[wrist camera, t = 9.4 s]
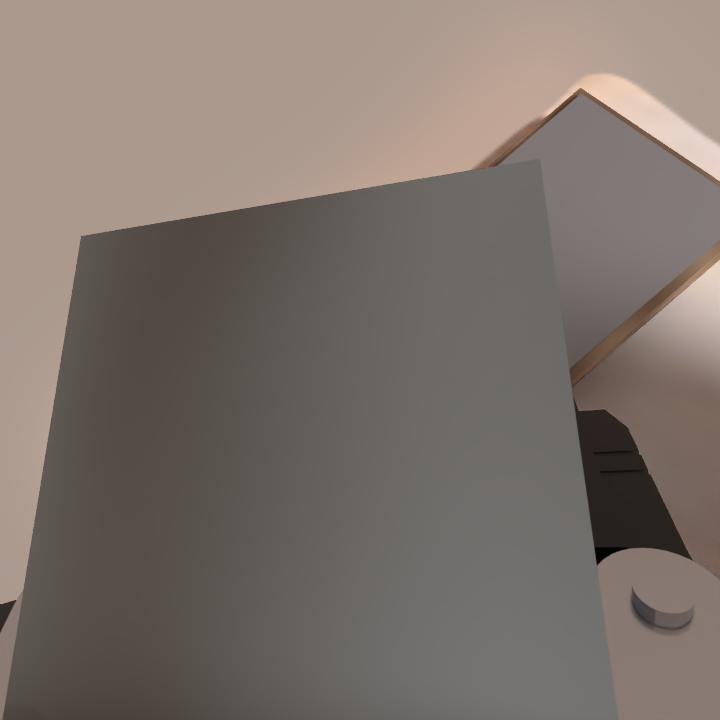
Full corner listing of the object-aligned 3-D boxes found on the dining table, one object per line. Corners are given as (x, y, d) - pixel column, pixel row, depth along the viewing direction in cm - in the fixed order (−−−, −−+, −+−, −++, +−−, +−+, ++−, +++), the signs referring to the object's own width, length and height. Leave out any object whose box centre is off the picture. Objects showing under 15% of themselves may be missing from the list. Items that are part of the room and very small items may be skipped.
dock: (571, 128, 36) (581, 84, 32) (735, 246, 31) (768, 209, 27) (407, 269, 36) (398, 241, 32) (546, 408, 31) (554, 394, 27)
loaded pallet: (517, 406, 17) (569, 126, 5) (537, 592, 15) (694, 886, 3) (351, 416, 18) (63, 216, 6) (353, 590, 16) (-39, 789, 4)
